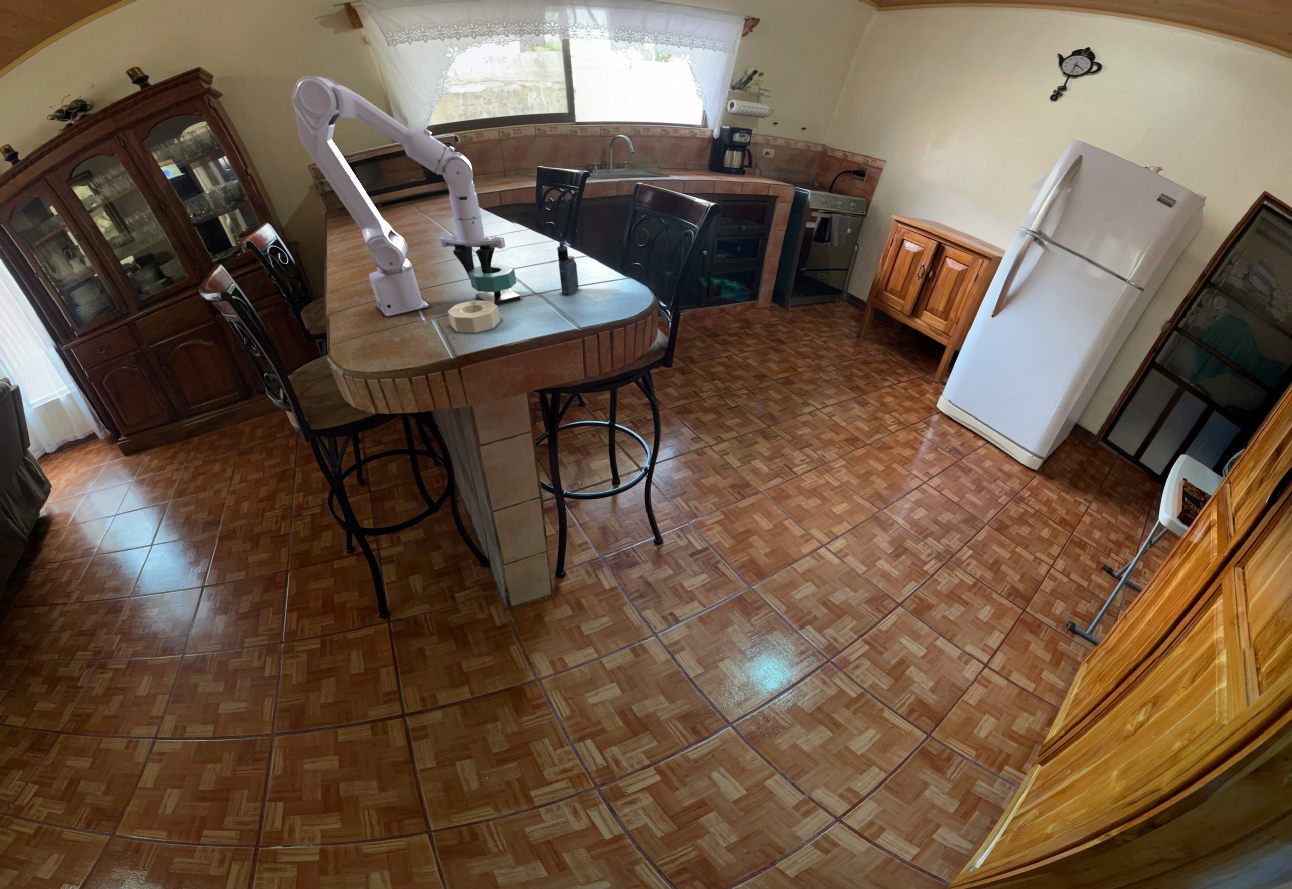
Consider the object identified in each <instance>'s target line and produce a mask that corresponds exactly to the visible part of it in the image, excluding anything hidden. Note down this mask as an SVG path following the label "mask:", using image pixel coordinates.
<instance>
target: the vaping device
mask: <svg viewBox="0 0 1292 889" xmlns="http://www.w3.org/2000/svg"><path fill="white" fill-rule="evenodd" d="M556 250H557V258H558V259H557V260H558V268H559V277H560V286H561V287H560V288H561V295H564V296H570V295H573V294H575V293H576V292H578V291H579V276H578V268H577V267H578V266H577V263H576V260H575V256H573V255H569V252H568V246H567V245H565V242H563V241H562V242H559V246H557V247H556Z"/></svg>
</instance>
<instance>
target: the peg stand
mask: <svg viewBox="0 0 1292 889" xmlns="http://www.w3.org/2000/svg"><path fill="white" fill-rule="evenodd" d="M491 274H492V273H491ZM475 298H476V299H477V300H478V301H491V302H492V303H494V304H495V305H496V306H497V307H498V306H502V305H505V304H510V303H513V302H517V301H521V295H520V294H518V293H516V292H514V291H513V290H511V288H509V289H505V290H501V291H497V292H478V293H475Z"/></svg>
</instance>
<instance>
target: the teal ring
mask: <svg viewBox="0 0 1292 889" xmlns="http://www.w3.org/2000/svg"><path fill="white" fill-rule="evenodd" d="M491 273H492V274H491ZM469 277H470V279H469V281H470V285H471V288H473V289H474V290H475V291H476V292H478V293H483V292H497V291H501V290H505V289H511V288H513V287H514V286H515V285H516V284H517V278H516V272H515V268H514V267H512V266H511V265H510V264H507V263H506V264H505V263H503V264H502V263H491V269H490V274H487V273H483V272H482V267H481V265H479V266H474V269H473V270H471V271H470V272H469V276H468V278H469Z"/></svg>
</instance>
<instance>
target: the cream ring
mask: <svg viewBox="0 0 1292 889" xmlns="http://www.w3.org/2000/svg"><path fill="white" fill-rule="evenodd" d="M447 315H448V319H449V322H450V326H451V328H452V329H454V330H455V331H456V332H457V333H463V334H479V333H480V332H484V331H489V330H493V329H494V328H496V326H497V325H498V324H499V323H500V322H501V318H500V312H499V307H498V306H496V305H495V304H494V303H492V302H491V301H480V300H478V299H477V300H475V299H474V300H469V301H464V302H460V303H456V304H454V305H453V306H452V307H451V308H450V309H448V310H447Z"/></svg>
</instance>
